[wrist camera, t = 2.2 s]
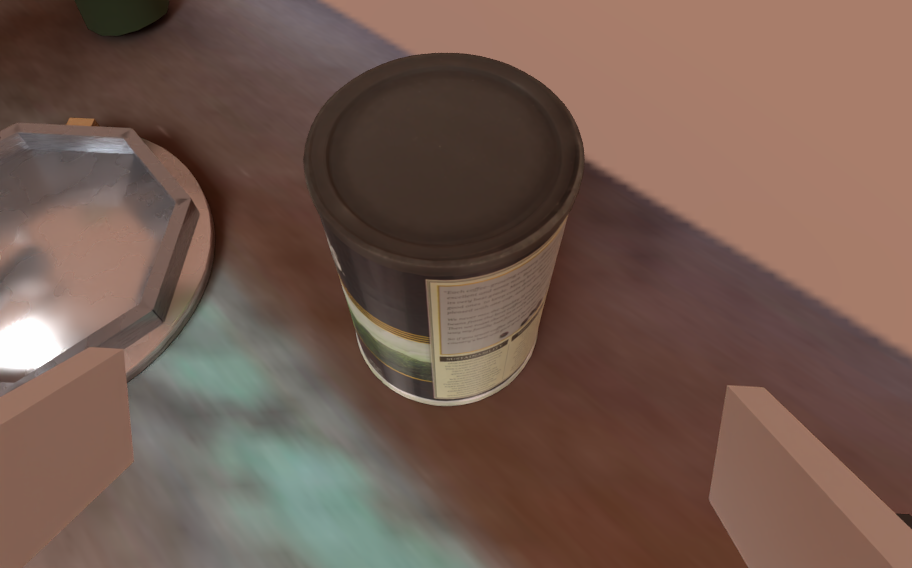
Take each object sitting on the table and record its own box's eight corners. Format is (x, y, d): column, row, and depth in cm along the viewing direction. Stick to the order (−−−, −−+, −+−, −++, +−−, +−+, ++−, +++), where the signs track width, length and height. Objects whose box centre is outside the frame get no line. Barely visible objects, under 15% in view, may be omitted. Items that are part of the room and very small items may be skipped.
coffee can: (337, 397, 33) (269, 247, 21) (374, 235, 38) (336, 40, 26) (534, 420, 32) (582, 280, 20) (544, 252, 38) (587, 61, 25)
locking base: (-227, 421, 32) (-276, 405, 30) (-46, 132, 42) (-73, 103, 40) (158, 446, 32) (136, 431, 30) (249, 146, 42) (237, 118, 40)
